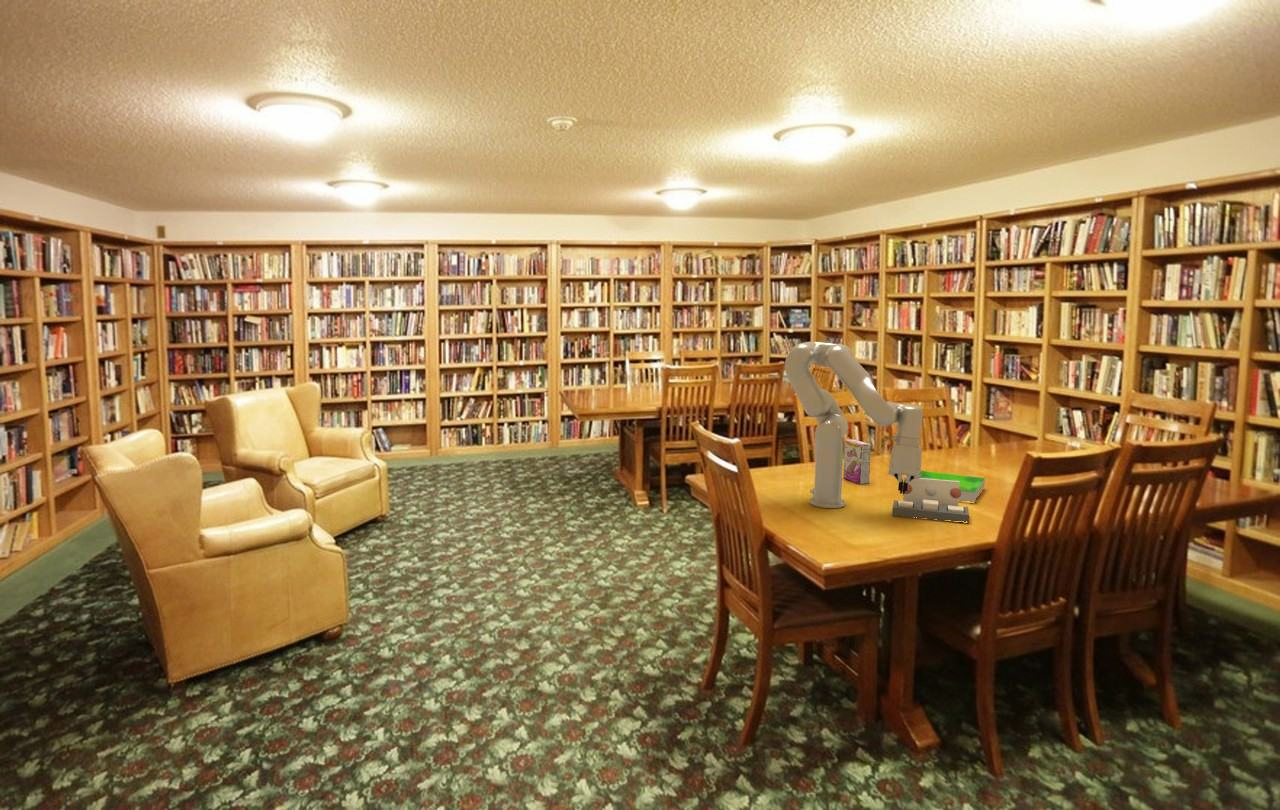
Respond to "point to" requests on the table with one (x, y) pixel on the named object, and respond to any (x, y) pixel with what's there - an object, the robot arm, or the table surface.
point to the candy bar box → (857, 461)
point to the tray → (967, 483)
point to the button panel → (935, 491)
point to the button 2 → (955, 509)
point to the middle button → (930, 504)
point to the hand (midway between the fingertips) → (902, 492)
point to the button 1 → (905, 504)
